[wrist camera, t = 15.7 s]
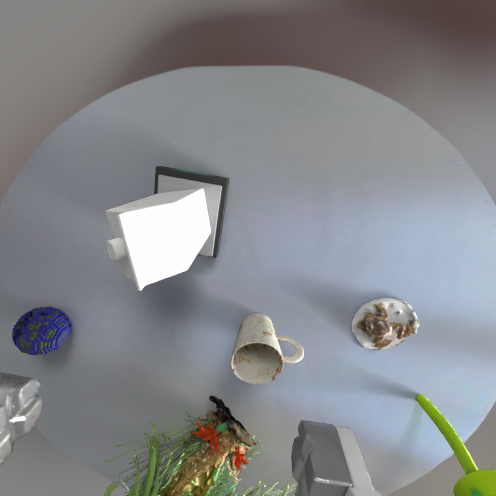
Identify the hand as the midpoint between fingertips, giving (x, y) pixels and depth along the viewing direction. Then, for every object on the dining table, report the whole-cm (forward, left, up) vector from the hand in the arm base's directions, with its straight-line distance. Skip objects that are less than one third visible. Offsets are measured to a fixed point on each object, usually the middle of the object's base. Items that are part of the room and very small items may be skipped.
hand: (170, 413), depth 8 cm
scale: (+2, -8, -37) cm, 38 cm away
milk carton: (+2, -8, -34) cm, 35 cm away
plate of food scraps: (+17, +30, -37) cm, 51 cm away
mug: (+22, +9, -37) cm, 44 cm away
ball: (+28, -32, -37) cm, 57 cm away
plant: (+53, +2, -37) cm, 65 cm away
